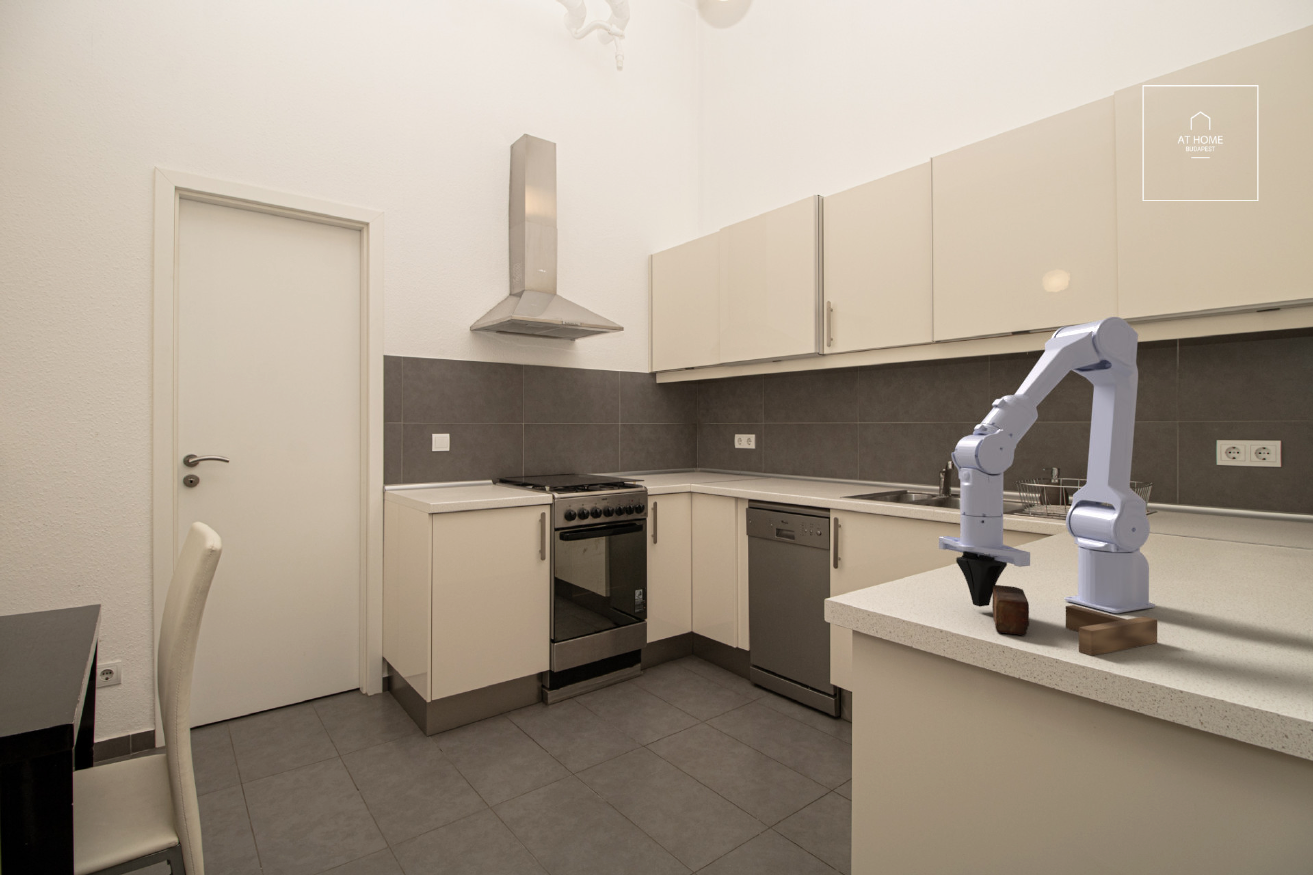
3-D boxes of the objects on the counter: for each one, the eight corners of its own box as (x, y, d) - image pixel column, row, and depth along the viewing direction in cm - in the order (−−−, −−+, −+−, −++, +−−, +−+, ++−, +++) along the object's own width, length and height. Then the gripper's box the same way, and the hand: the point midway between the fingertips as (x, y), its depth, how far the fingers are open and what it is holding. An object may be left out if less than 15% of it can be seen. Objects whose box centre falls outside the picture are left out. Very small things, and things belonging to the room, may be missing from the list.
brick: (1029, 637, 82) (1030, 602, 82) (995, 633, 84) (995, 598, 84) (1022, 616, 92) (1022, 584, 91) (991, 612, 93) (992, 581, 93)
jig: (1090, 623, 88) (1090, 602, 88) (1157, 642, 80) (1157, 619, 80) (1026, 634, 83) (1026, 611, 83) (1091, 655, 75) (1091, 631, 75)
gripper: (924, 510, 99) (923, 595, 99) (1004, 522, 86) (1004, 621, 86) (957, 508, 102) (957, 591, 102) (1041, 520, 88) (1040, 615, 88)
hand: (981, 604), depth 94 cm, fingers closed
